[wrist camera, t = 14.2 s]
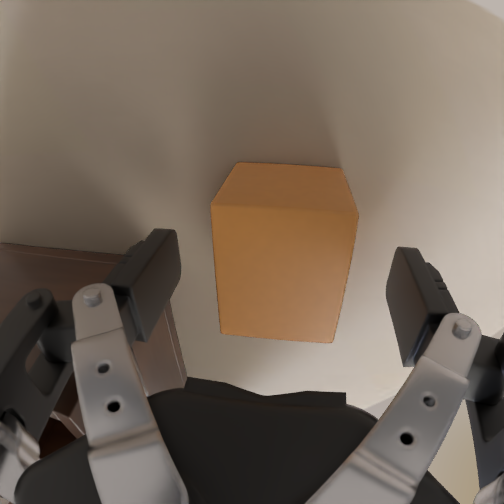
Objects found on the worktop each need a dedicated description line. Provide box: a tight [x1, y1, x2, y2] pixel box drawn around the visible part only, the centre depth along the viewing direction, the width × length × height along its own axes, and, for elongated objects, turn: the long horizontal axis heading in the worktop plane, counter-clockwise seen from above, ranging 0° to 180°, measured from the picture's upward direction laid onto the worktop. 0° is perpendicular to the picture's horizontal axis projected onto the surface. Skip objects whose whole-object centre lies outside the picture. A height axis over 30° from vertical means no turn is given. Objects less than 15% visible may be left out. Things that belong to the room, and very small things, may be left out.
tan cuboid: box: [210, 162, 359, 343], centre depth 11 cm, size 5×4×4 cm
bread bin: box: [0, 243, 187, 459], centre depth 16 cm, size 16×13×9 cm
